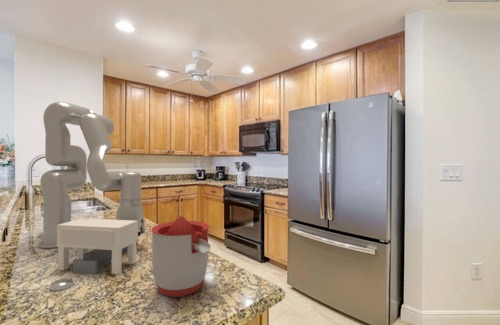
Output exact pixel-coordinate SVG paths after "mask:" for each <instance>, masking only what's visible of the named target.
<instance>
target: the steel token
mask: <svg viewBox="0 0 500 325" xmlns="http://www.w3.org/2000/svg"><path fill="white" fill-rule="evenodd" d="M72 286H73V279H72V278H69V277H67V278H60V279H57V280H55V281H52V282H51V283H50V285H49V290H50V292H61V291H64V290H67V289H69V288H71V287H72Z"/></svg>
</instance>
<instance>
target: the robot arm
mask: <svg viewBox="0 0 500 325" xmlns="http://www.w3.org/2000/svg"><path fill="white" fill-rule="evenodd" d="M42 120H43V127H44V133H45V139H44V140H45V148H44V150H45V152H44V153H45V154H44V155H45V162H46V163H47V164H48V165H49V166H53V167H66V169H65V168H64V169H63V168H62V169H61V168H60V169H58V168H57V169H52V170H51V169H50V170H48V171H45V172H44V173H43V174H42V175H41V177H40V181H39V182H40V187H41V192H42V199H43V201H42V202H43V209H42V210H43V222H42V226H43V228H42V230H43V231H42V232H41V233H40V234H39V235H37V236H36V240H37V239H38V240H40V242H38V243H37V245H38V246H37V247H38V248H40V249H56V248H58V247H57V225H59V224H63V223H66V222H70V221H72V199H71V196H70V194H69V193H68V191H69V192H70V191H75V190H80V189H82V188H84V186H85V185H86V183H87V178H88V177H89V179H90V181H91V184H92V185H93V187H94V188H95V189H96V190H98V191H101V192H107V191H113V190H114V191H115V190H120V198H119V199H118V201H117V202H118V204H119V203H120V205H121V206H120V205H118V208H117V211H116V212H117V213H116V218H115V220H133V221H138V238H139V237H140V236H141V235H142V234H145V233H146V228H145V213H144V207H143V205H142V174H141V173H140V172H137V171H126V172H125V171H118V170H117V171H115V170H114V171H108V170H107V168H106V166H105V162H104V157H105V155H106V154H107V153H108V152H110V151H111V150H112V149H113V144H112V141H111V139H110V135H111V134H113V133H114V130H115V125H114V122H113V120H112V119H111V118H109V117H108V116H106V115H103V114H101V113H99V112H97V111H95V110H92V109H90V108H86V107H84V106H80V105H76V104H73V103H69V102H65V101H54V102H52V103H50V104H48V106H47V107H46V108H45V110H44V113H43V119H42ZM66 124H69V125H75V126H78V127H80V130H81V132H82V134H83V137H84V140H85V143H86V145H87V147H88V150H89V154H88V156H87V154H86V151H85V150H84V149H83V148H82V147H81V146H78V145H73V144H71V132H70V130H69V128H68V127H67V125H66ZM87 174H88V175H87ZM87 176H88V177H87ZM137 247H138V241H136V248H137Z"/></svg>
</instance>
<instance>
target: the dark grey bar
mask: <svg viewBox="0 0 500 325" xmlns="http://www.w3.org/2000/svg"><path fill="white" fill-rule="evenodd" d="M126 253H128V246H127V247H125V248H123V249H122V255H124V254H126ZM110 262H112V250H104V249H92V250H91V251H89V252H88V253H86V254H84V255H83V259H78V258H75V259H72V273H75V274H84V275H85V274H86V275H97V274H98V273H99V268H101V267H103V266H104V265H106V264H108V263H110Z"/></svg>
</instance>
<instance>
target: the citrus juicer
mask: <svg viewBox="0 0 500 325" xmlns="http://www.w3.org/2000/svg"><path fill="white" fill-rule="evenodd" d="M209 229H210V225H209V224H208V223H206V222H203V221H199V220H198V221H197V220H187V218H186V217H184V216H183V215H181V216H178V217H177V218H176V219H175V221H169V222H163V223H160V224H157V225H154V226H153V227H152V228H151V234H152V238H151V239H152V240H151V241H152V244H151V245H152V247H151V250H152V251H151V253H152V254H151V255H152V256H151V262H152V263H151V264H152V272H153V277H154V280H155V285H156V288H157V289H158V292H159V293H160V294H162V296H163V295H164V296H166V297H172V298H173V297H174V298H181V297H184V296H189V295H191V294H194V293H196V292H197V291H199V290H200V289H201V287H202V285H203V283H204V280H205V276H206V273H207V268H208V263H209V262H208V260H209V251H210V250H211V244H210V243H209Z"/></svg>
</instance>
